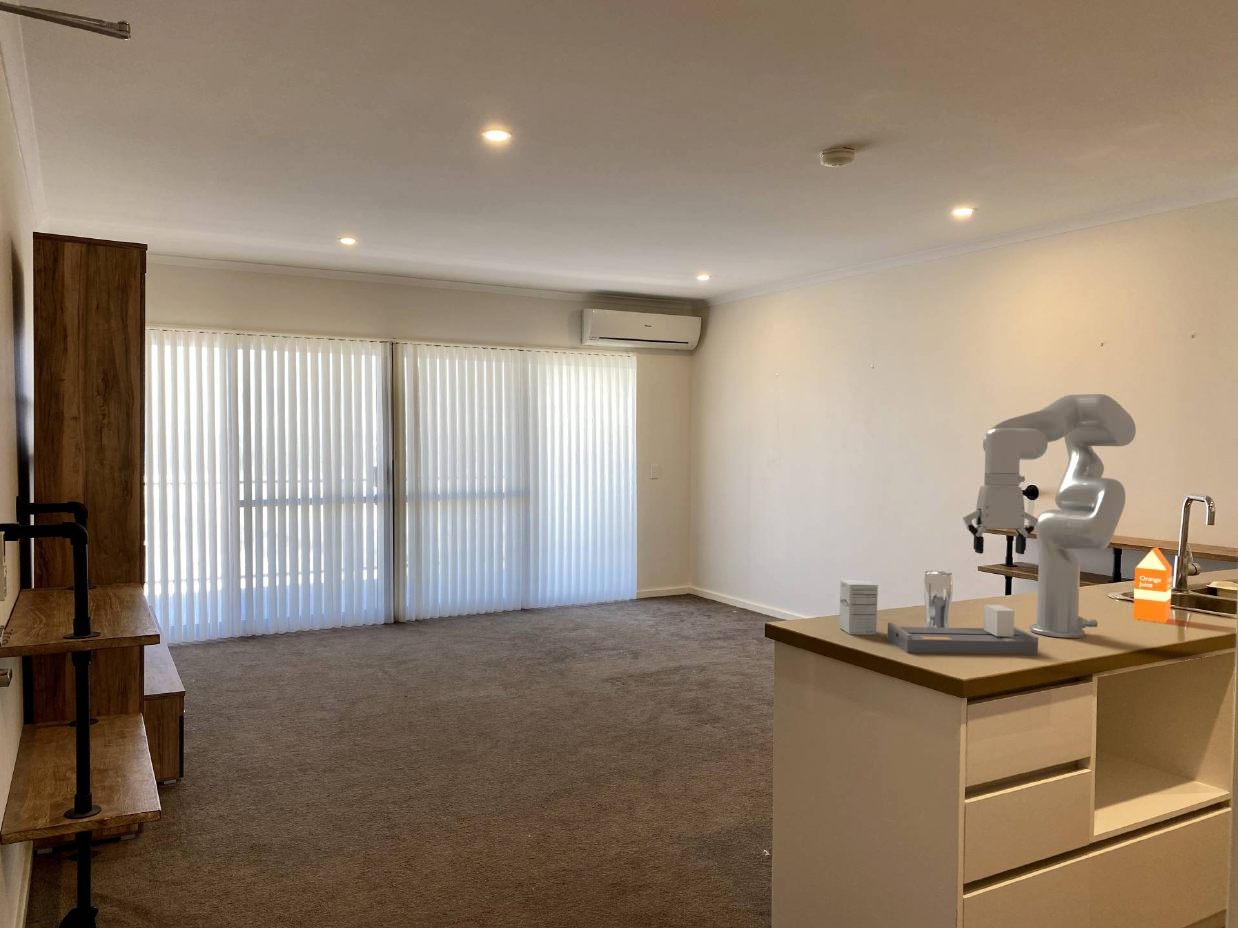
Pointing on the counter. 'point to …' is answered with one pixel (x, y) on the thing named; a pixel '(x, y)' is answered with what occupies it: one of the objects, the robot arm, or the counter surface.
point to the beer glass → (937, 598)
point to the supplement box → (858, 607)
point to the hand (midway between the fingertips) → (999, 553)
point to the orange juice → (1153, 588)
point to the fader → (998, 620)
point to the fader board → (961, 641)
